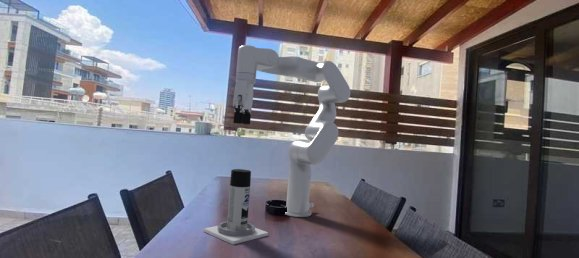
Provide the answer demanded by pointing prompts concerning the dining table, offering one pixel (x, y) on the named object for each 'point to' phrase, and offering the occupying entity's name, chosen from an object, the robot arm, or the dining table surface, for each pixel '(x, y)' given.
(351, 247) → the dining table surface
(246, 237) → the collar plate
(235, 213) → the spray can
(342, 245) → the dining table surface
